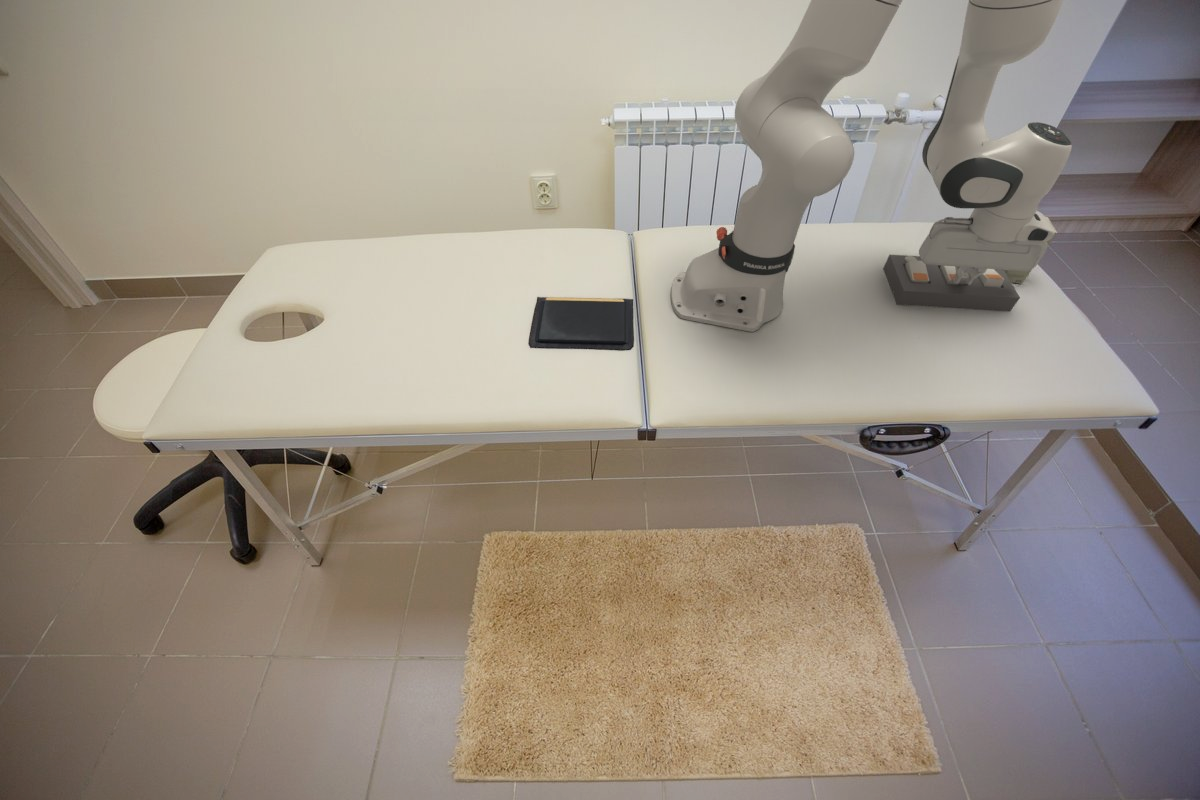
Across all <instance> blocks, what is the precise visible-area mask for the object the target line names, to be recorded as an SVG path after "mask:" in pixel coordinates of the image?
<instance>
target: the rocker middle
mask: <svg viewBox="0 0 1200 800" xmlns="http://www.w3.org/2000/svg"><path fill="white" fill-rule="evenodd" d="M939 269H940V271H941V273H942V276H943V278H944V280H945V282H946V284H949V285H963V284H954V282H953V277H954V276H955V274H956V269H955V266H942V265H941V267H940V268H939ZM962 273H963V272H962Z"/></svg>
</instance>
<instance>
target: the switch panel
mask: <svg viewBox="0 0 1200 800" xmlns="http://www.w3.org/2000/svg"><path fill="white" fill-rule="evenodd" d="M908 260H917V261H922V260H921V258H920V255H906V254H905V255H901V254H889V255H888V257H887V259H886V261H885V263H884V265H883V267H882V269H883V272H884V274H885V278H886V279H887V282H888V285H889V287H890V290H891V293H892V295H893V298H894V301H895V303H896V305H897V306H913V307H927V308H929V307H930V308H944V309H945V308H948V309H962V310H963V309H965V310H966V309H967V310H979V311H980V310H981V311H996V312H1011V311H1012V309H1013V308H1014V307H1015V305H1016V304H1017V303H1018V301H1019V300H1020V299H1021V297H1020V295H1019V294H1018V292H1017V290H1016V288H1015V287H1014V285H1013V282H1010V280H1009V278H1008V277H1007V275H1006V273H1005V272H1004V270H999V269H994V270H995V271H996V272H997V273H998V274H999V275H1000V276H1001V277H1002V278H1004V281H1003V283H1002V285H1001V287H984V286H983V285H982V283H981V282H980V280H979V278H978V277H977V278H975V279H974V280H973V282H972V283H971V285H949V284H946V282H945V280H944V278H943V276H942V273H941V271H940V269H939V268H940V267H941V265H927V264H926V268H927V273H928V277H929V282H928V283H914V282H910V279H909V277H908V275H907V272H906V270H905V265H906V263H907V262H908ZM972 269H974V268H970V267H967V269H966V270H965V271H962V272H963V273H969V272H970V271H971V270H972Z"/></svg>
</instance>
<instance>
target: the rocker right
mask: <svg viewBox="0 0 1200 800" xmlns="http://www.w3.org/2000/svg"><path fill="white" fill-rule="evenodd" d="M978 278H979V280H980V282H981V283H982V285H983V286H984V287H1001V285H1002V283H1003V281H1004V278H1002V277H1001V276H1000V275H999V274H998V273H997V272H996V271H995V270H994V269H987V270H986V272H985V273H983V274H982V275H980V276H979V277H978Z"/></svg>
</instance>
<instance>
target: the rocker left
mask: <svg viewBox="0 0 1200 800" xmlns="http://www.w3.org/2000/svg"><path fill="white" fill-rule="evenodd" d="M905 270H906V272H907V275H908V277H909V279H910V282H914V283H928V282H929V277H928V273H927V268H926V264H924V263H923V262H922V261H917V260H908V262H907V263H906V265H905Z"/></svg>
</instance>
